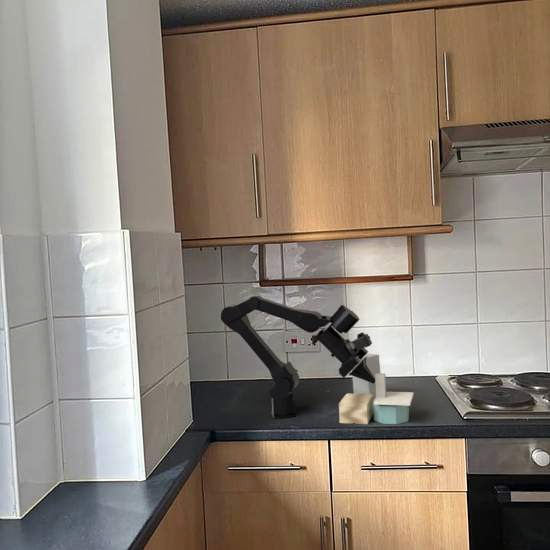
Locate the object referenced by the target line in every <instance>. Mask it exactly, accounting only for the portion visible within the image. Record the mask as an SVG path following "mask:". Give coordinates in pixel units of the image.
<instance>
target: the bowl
mask: <svg viewBox="0 0 550 550" xmlns="http://www.w3.org/2000/svg"><path fill="white" fill-rule="evenodd" d="M409 407H410V406H406V405H376V404H374V402H373V409H374V413H373V421H374V422H378V423H380V424H384V425H388V424H389V425H400V424H402V423H403V424H405V423H407V422H409V419H410V409H409Z"/></svg>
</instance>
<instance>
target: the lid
mask: <svg viewBox="0 0 550 550" xmlns="http://www.w3.org/2000/svg"><path fill="white" fill-rule="evenodd" d="M386 378H387V376H386V373H384V372H383V373H381V372H380V373H376V375H375V384H376V398H375V400H374V401H373V403H374V404H376V405H406V406H409V407H410V406H411V404H412V402H413V398H414V394H415V393H414V392H411V391H410V392H408V391H387V380H386Z"/></svg>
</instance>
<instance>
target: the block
mask: <svg viewBox="0 0 550 550" xmlns="http://www.w3.org/2000/svg"><path fill="white" fill-rule="evenodd" d="M373 403H374V401H373V394H354V393H346V394H345V395H344V396H343V397H342V399H341V400H340V402H339V403H338V414H339V417H338V418H339V423H340V424H353V423H355V425H356V424H359V425H368V424H369V423H370V420H371V419H372V417H373V416H374V409H373Z"/></svg>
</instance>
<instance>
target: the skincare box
mask: <svg viewBox="0 0 550 550" xmlns="http://www.w3.org/2000/svg"><path fill="white" fill-rule="evenodd" d="M365 357H367V359H366V364H367V366H368V368H369V370H370V371H371V373H372V374H373V376H374V377H375V375H376V373H381V364H380V363H381V362H380V354H377V353H369V352H368V353H367V354H366V355H365V356H364V357H363V358H362V359H364V358H365ZM351 377H352V378H351V379H352V388H353V389H352V390H353V394H373V402H374V400H375V398H376V384H375V383H374V384H373V383H371V382H368V381H365V380H363V379H360V378H357V377H355V376H352V375H351Z"/></svg>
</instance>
